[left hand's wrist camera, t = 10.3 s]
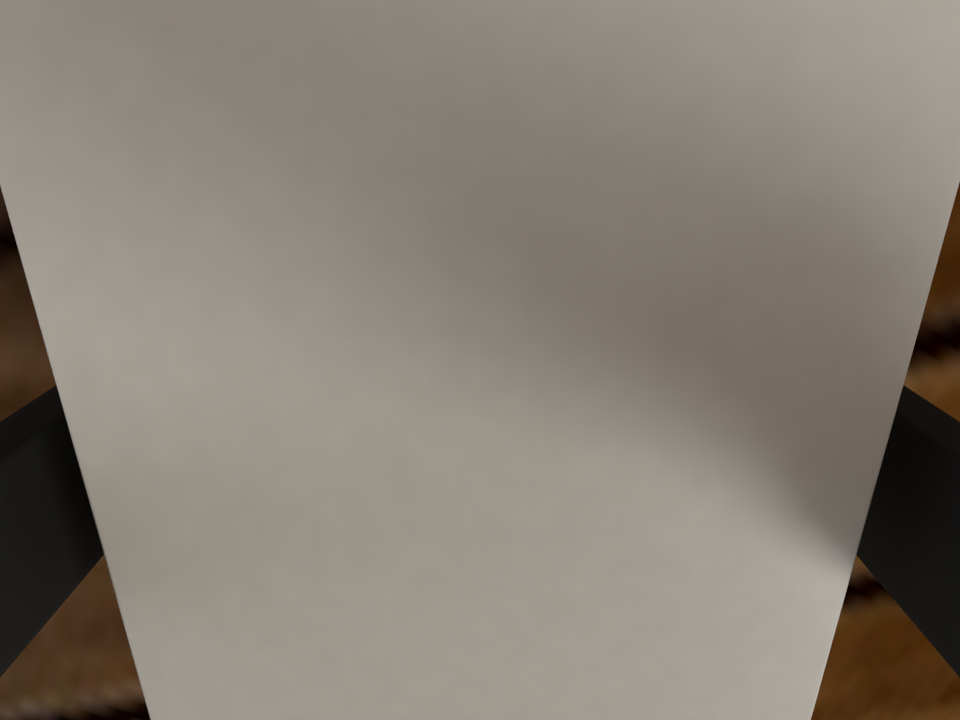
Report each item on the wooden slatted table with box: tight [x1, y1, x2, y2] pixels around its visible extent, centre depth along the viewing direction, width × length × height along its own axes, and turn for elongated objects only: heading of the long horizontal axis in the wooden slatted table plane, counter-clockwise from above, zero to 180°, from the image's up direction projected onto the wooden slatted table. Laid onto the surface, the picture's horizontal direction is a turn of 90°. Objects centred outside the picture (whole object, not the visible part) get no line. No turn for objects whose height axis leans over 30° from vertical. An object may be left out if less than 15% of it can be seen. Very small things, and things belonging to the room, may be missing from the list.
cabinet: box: [0, 0, 960, 720], centre depth 11 cm, size 20×11×9 cm, turn 0°
